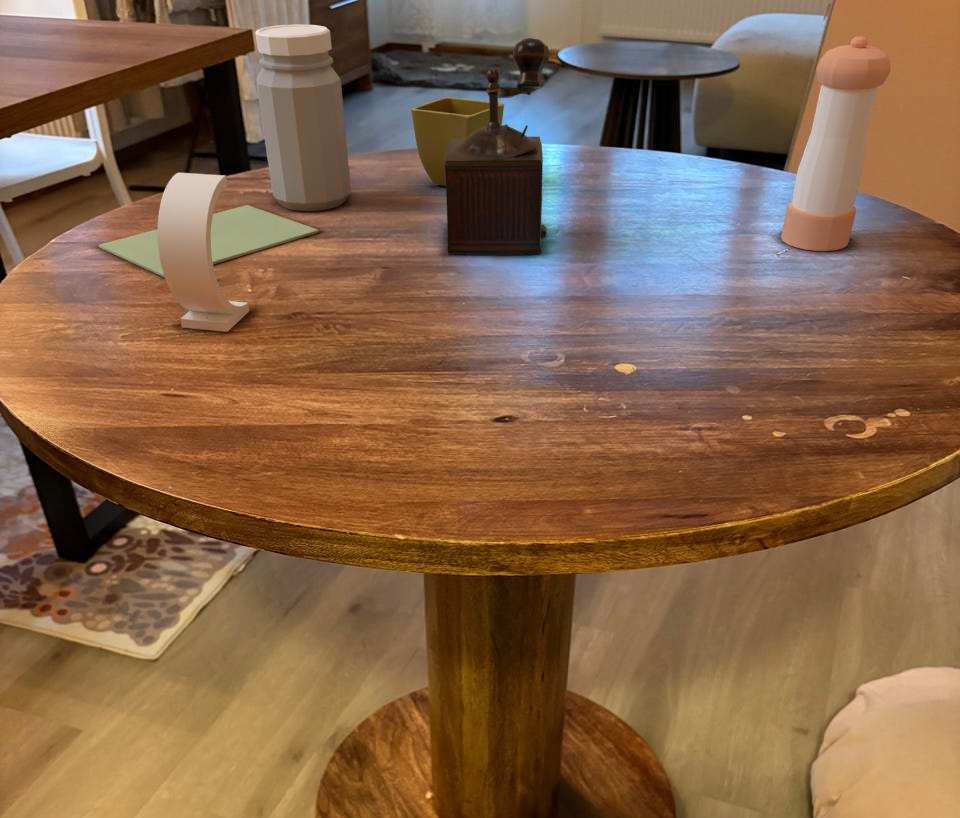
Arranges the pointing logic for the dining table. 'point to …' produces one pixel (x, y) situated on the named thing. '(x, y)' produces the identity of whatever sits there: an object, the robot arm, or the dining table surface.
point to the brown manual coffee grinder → (498, 174)
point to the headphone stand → (194, 252)
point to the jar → (302, 117)
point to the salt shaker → (835, 148)
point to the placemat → (218, 237)
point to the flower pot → (446, 129)
